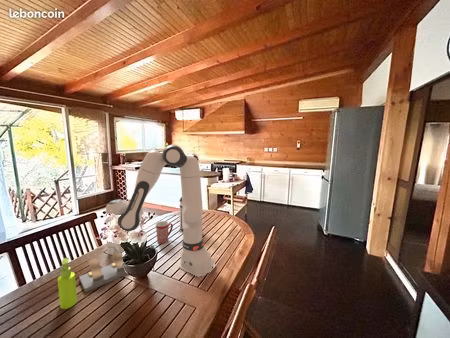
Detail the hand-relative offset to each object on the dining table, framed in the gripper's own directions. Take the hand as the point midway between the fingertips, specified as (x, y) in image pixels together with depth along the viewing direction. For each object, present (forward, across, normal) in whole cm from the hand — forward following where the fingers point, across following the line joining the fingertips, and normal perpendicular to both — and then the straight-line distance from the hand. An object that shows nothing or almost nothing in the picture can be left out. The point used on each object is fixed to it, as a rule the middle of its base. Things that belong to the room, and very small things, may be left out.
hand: (116, 252), depth 111 cm
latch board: (+10, -2, +5) cm, 11 cm away
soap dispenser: (+10, -10, +23) cm, 27 cm away
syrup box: (+10, +19, -5) cm, 22 cm away
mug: (+10, +11, -36) cm, 39 cm away
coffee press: (+10, +17, -60) cm, 63 cm away
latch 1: (+4, -2, +11) cm, 12 cm away
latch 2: (+4, -2, 0) cm, 5 cm away
